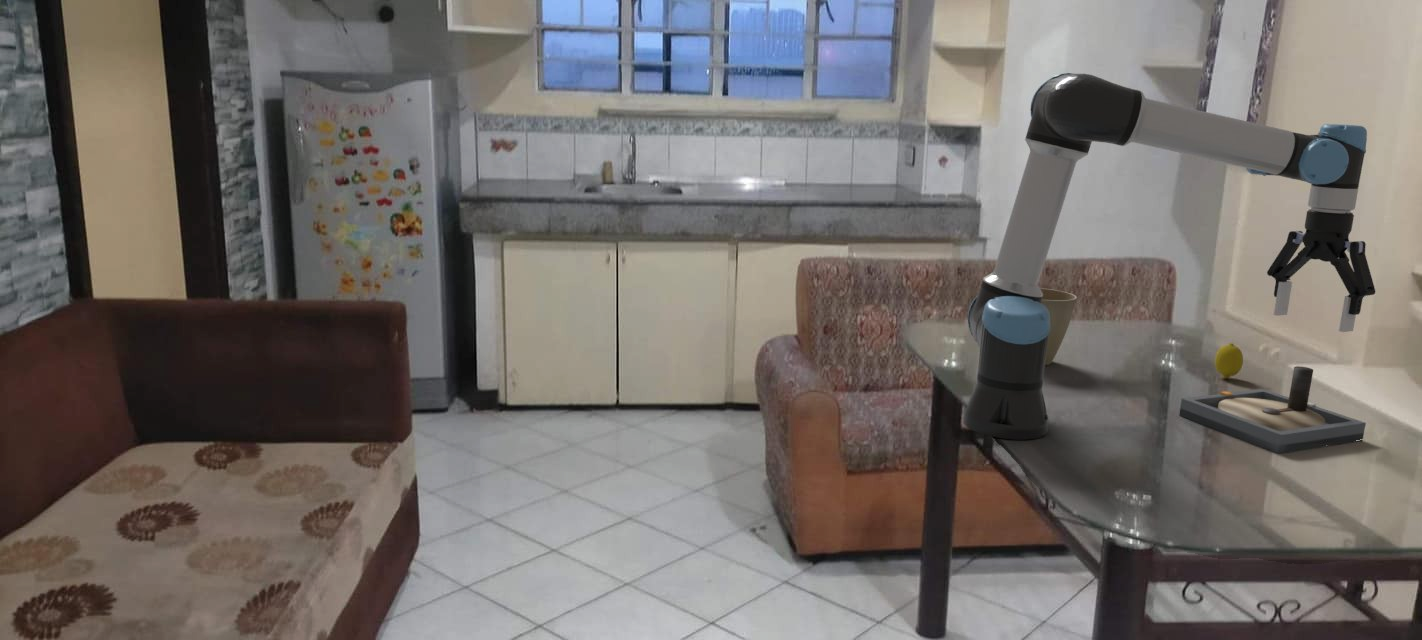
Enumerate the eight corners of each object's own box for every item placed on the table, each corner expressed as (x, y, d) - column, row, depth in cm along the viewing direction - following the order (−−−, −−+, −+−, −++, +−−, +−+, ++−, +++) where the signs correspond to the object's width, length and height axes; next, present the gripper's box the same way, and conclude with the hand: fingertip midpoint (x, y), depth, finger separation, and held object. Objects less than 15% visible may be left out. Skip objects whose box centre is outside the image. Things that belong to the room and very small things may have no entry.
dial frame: (1277, 453, 184) (1281, 432, 183) (1179, 415, 204) (1181, 396, 203) (1362, 440, 193) (1366, 420, 192) (1259, 405, 213) (1262, 386, 212)
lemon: (1211, 379, 230) (1217, 344, 229) (1213, 373, 235) (1218, 339, 233) (1239, 383, 228) (1245, 348, 226) (1240, 377, 233) (1245, 342, 231)
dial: (1277, 440, 187) (1286, 389, 184) (1196, 409, 203) (1203, 362, 200) (1346, 430, 194) (1355, 380, 191) (1262, 401, 210) (1270, 355, 207)
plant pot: (1077, 371, 233) (1086, 301, 229) (1010, 369, 233) (1017, 299, 229) (1057, 354, 247) (1065, 288, 244) (994, 351, 248) (1001, 285, 244)
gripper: (1411, 218, 182) (1389, 337, 187) (1285, 201, 204) (1268, 307, 209) (1382, 219, 179) (1361, 340, 184) (1257, 202, 201) (1241, 309, 206)
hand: (1312, 322), depth 197 cm, fingers open, 13 cm apart
